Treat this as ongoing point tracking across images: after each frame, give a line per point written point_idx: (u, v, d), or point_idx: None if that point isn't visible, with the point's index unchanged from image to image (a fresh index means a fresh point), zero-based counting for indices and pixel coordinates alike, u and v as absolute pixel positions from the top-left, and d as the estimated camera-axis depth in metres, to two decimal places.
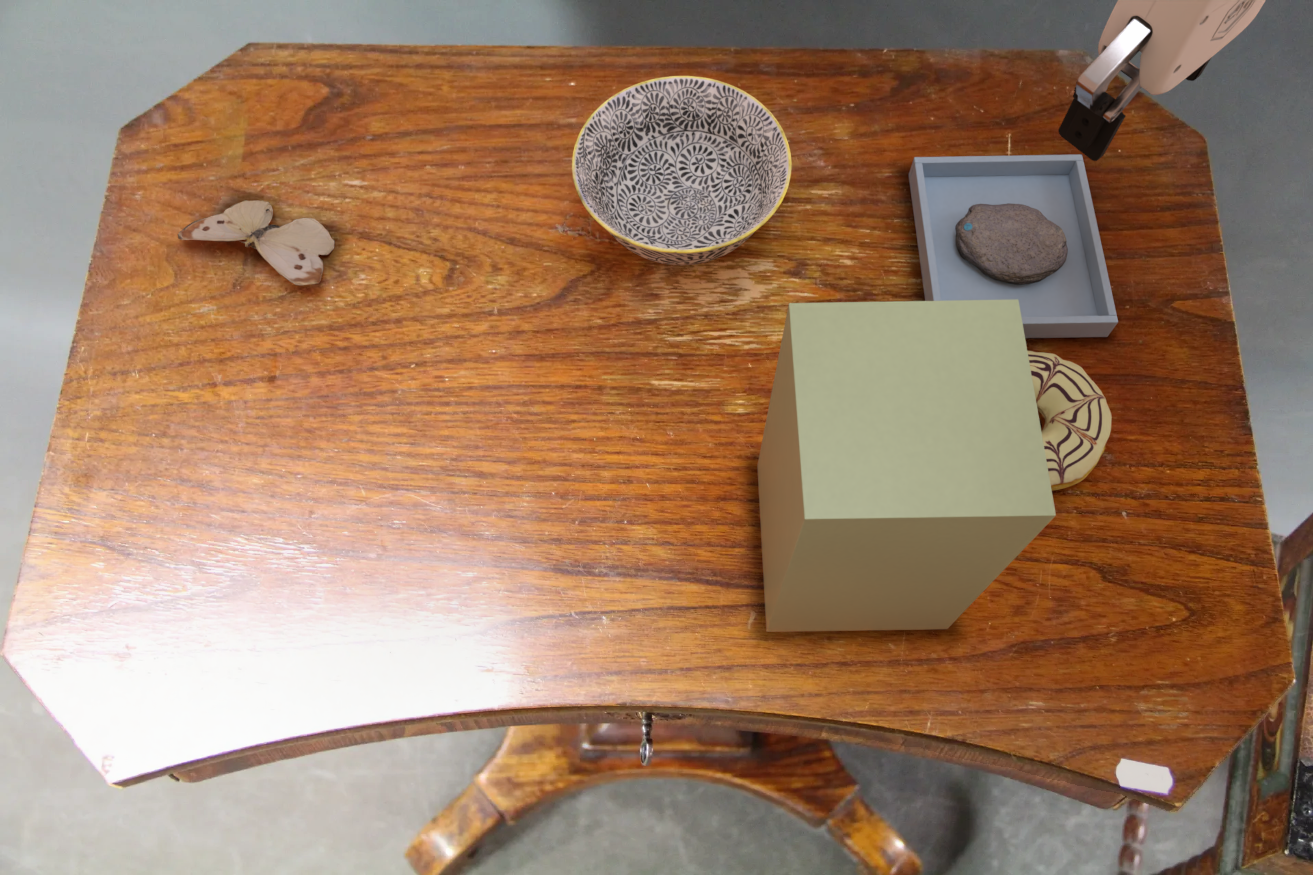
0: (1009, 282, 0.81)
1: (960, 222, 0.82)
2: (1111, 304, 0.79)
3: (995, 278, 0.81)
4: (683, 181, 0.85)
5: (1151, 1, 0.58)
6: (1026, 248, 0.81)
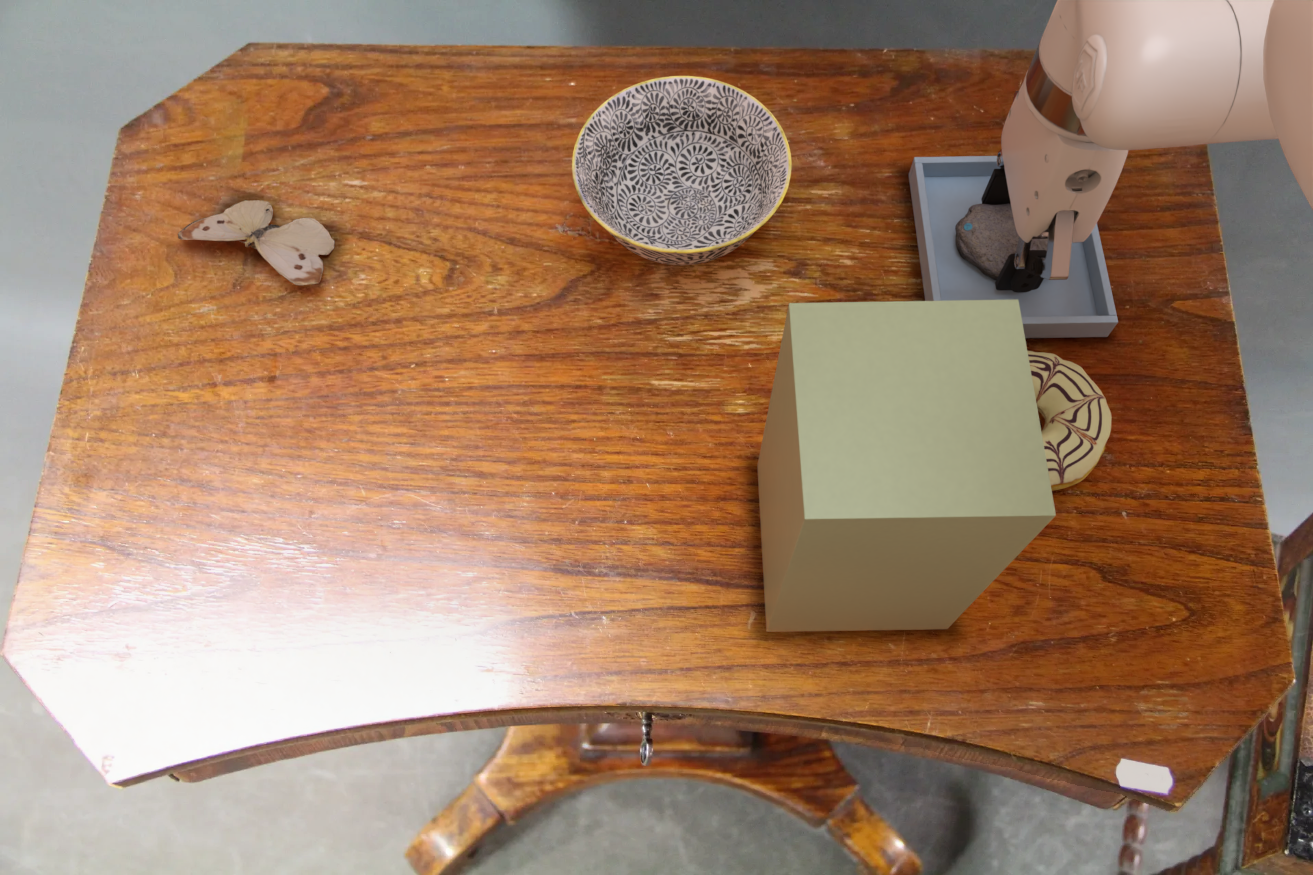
0: None
1: (960, 222, 0.82)
2: (1111, 304, 0.79)
3: (995, 278, 0.81)
4: (683, 181, 0.85)
5: (1072, 198, 0.69)
6: None
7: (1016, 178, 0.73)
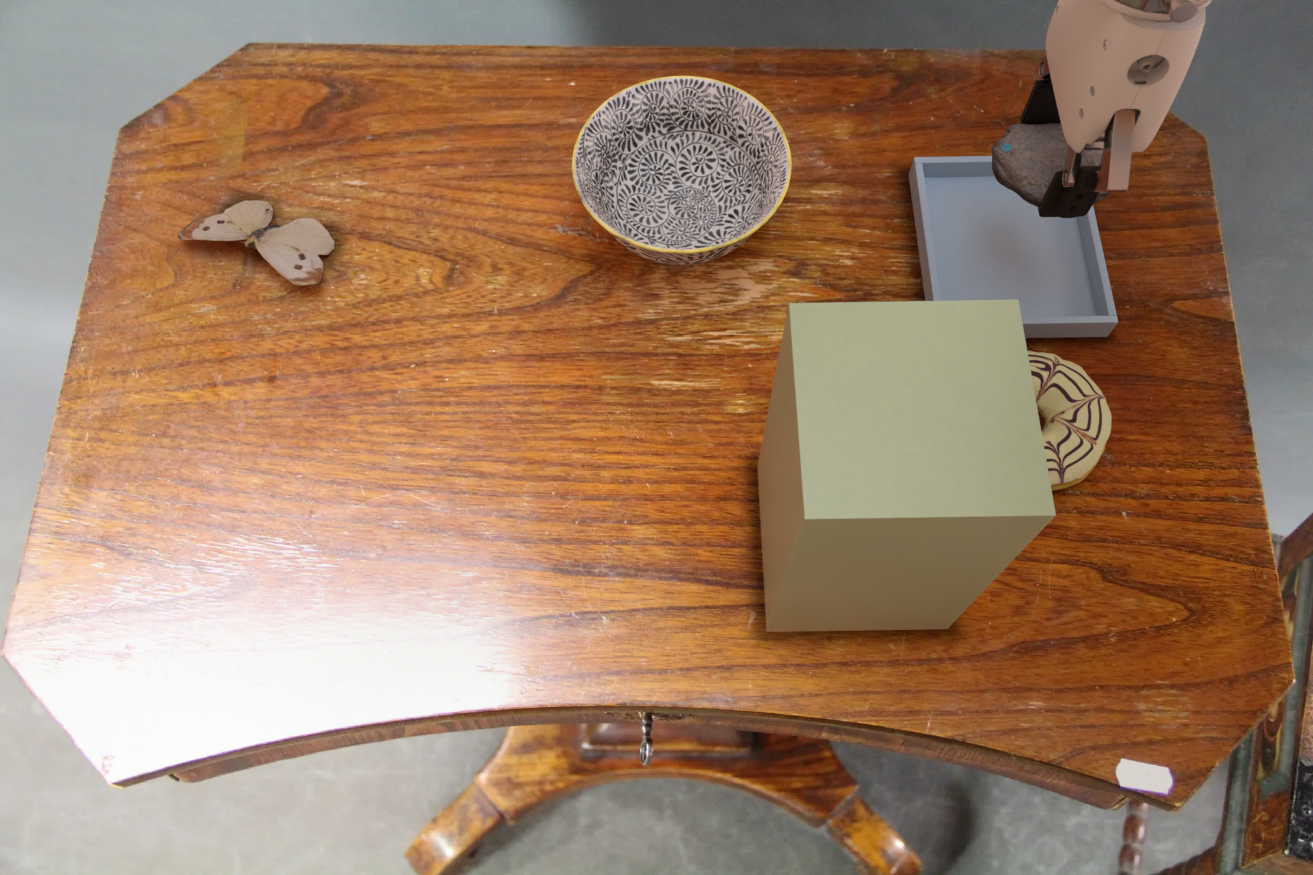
0: None
1: (997, 143, 0.73)
2: (1111, 304, 0.79)
3: (1037, 204, 0.72)
4: (683, 181, 0.85)
5: (1134, 93, 0.60)
6: None
7: (1066, 78, 0.64)
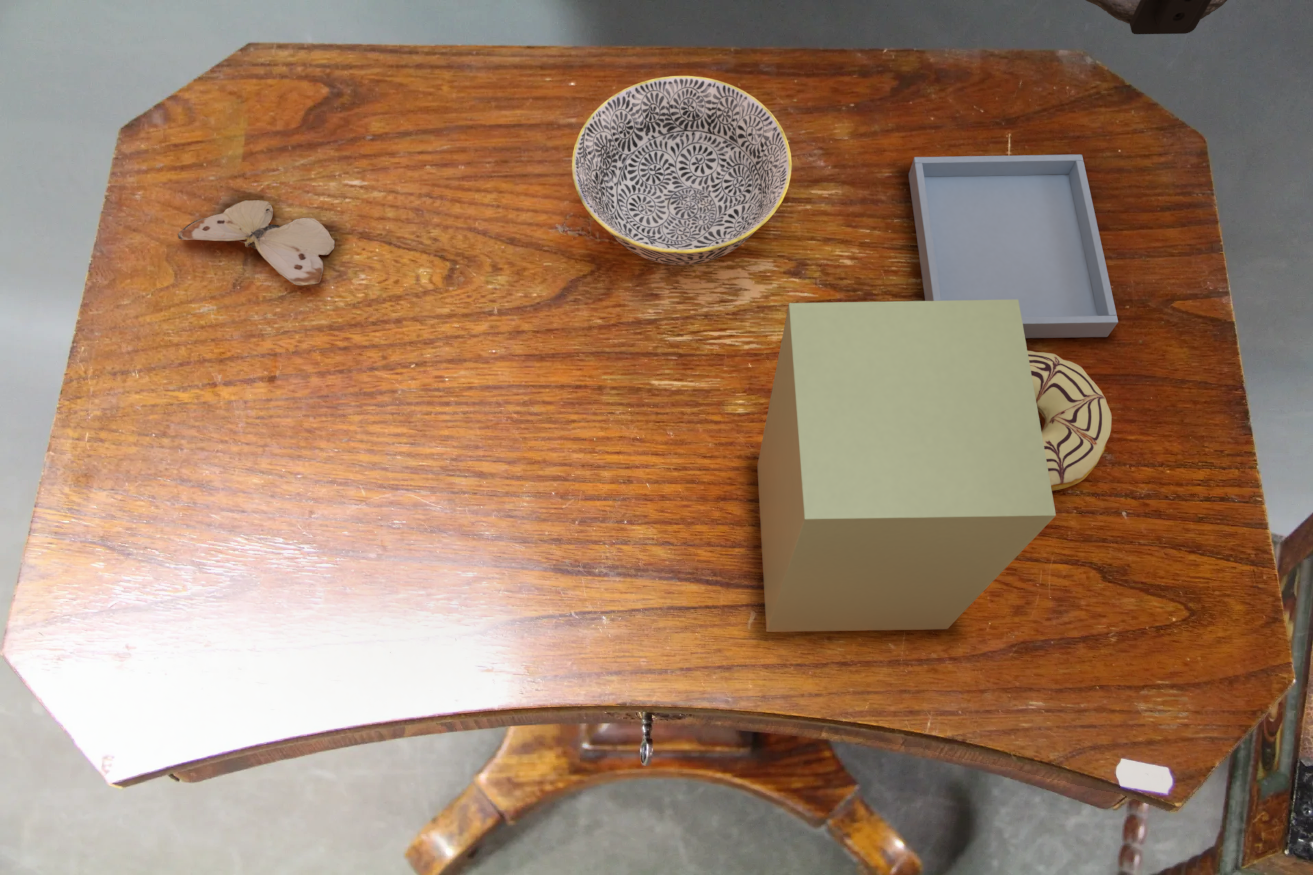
0: None
1: None
2: (1111, 304, 0.79)
3: (1128, 19, 0.55)
4: (683, 181, 0.85)
5: None
6: None
7: None
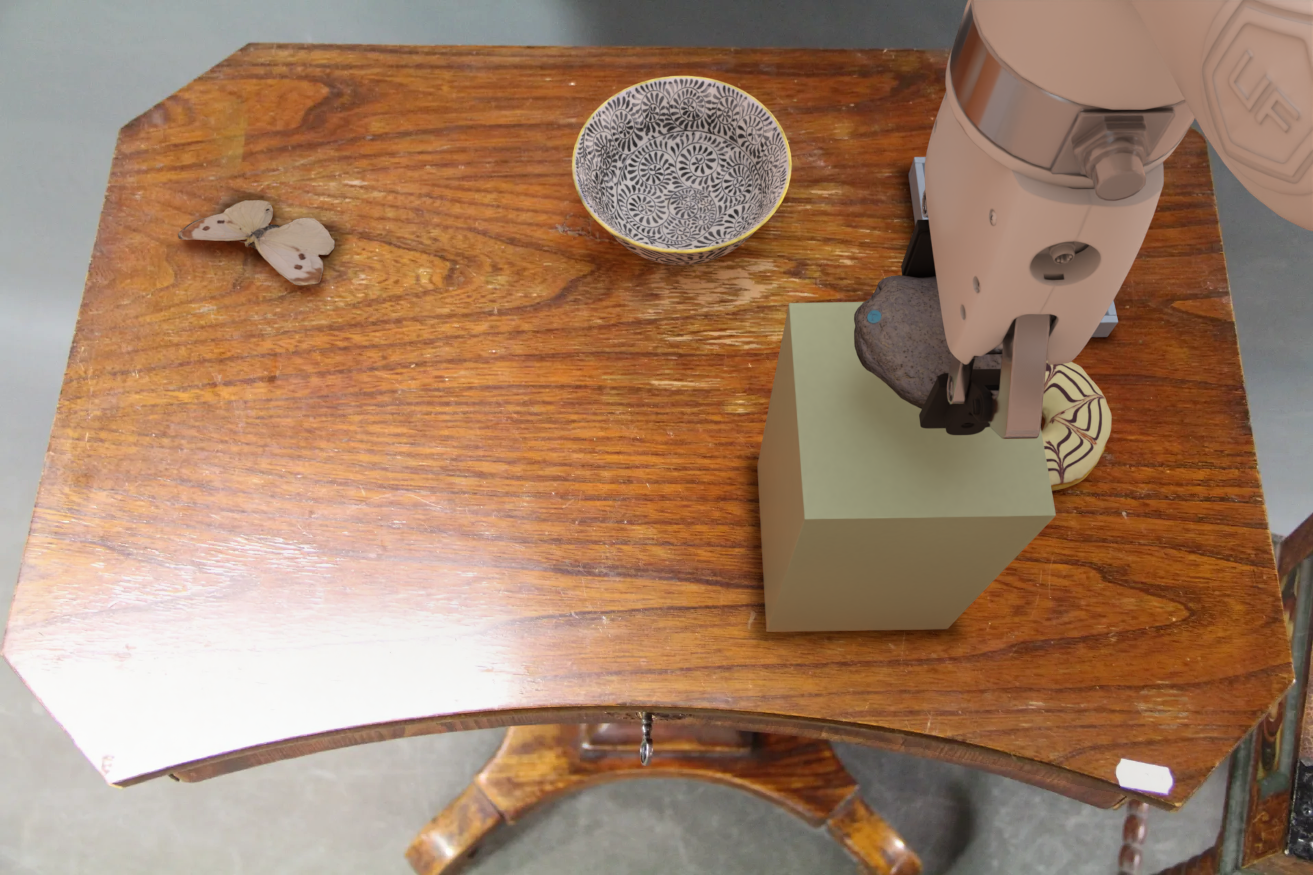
0: None
1: (862, 308, 0.48)
2: (1111, 304, 0.79)
3: (919, 406, 0.47)
4: (683, 181, 0.85)
5: (1044, 293, 0.35)
6: None
7: (944, 246, 0.39)
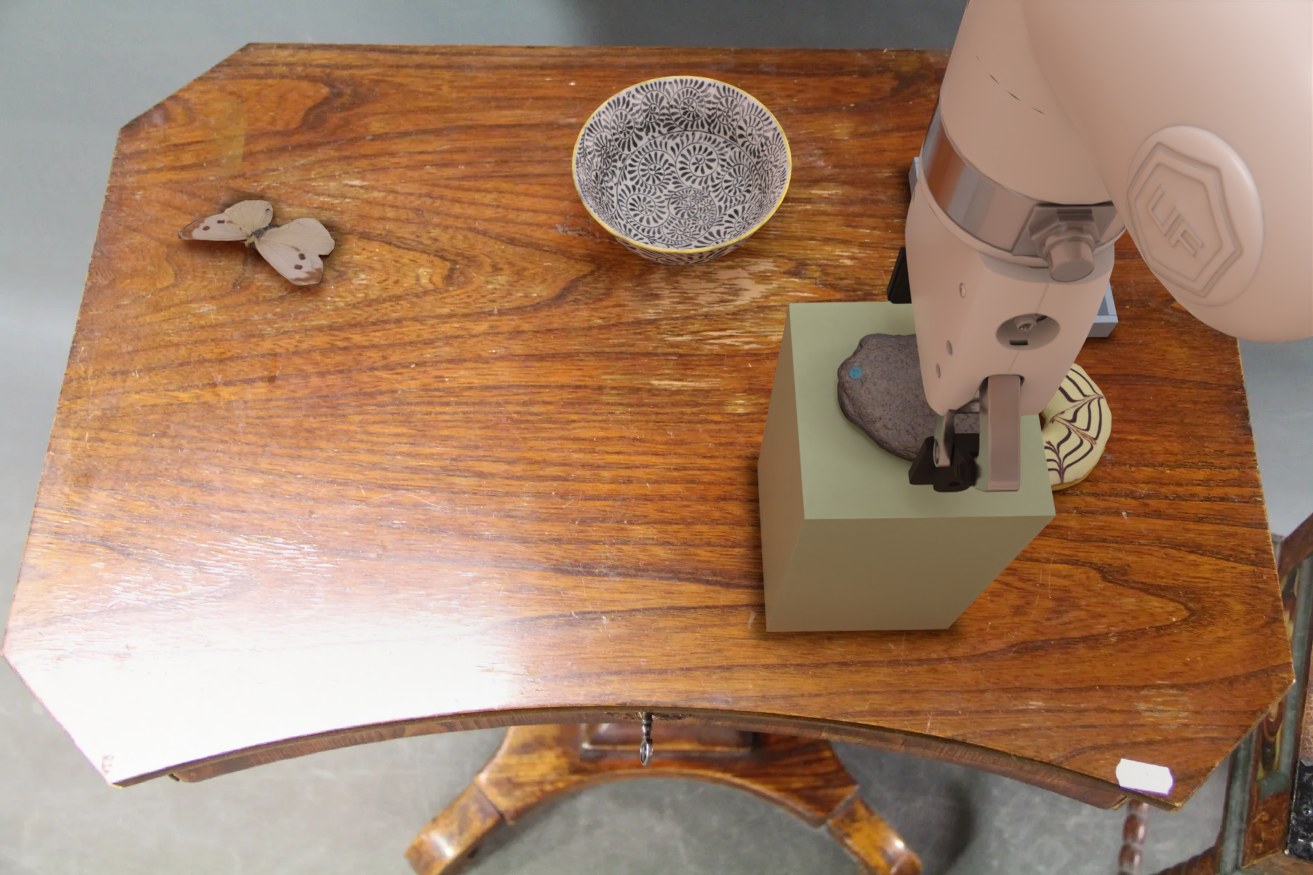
0: None
1: (844, 364, 0.53)
2: (1111, 304, 0.79)
3: (897, 455, 0.52)
4: (683, 181, 0.85)
5: (1010, 357, 0.39)
6: None
7: (921, 308, 0.43)
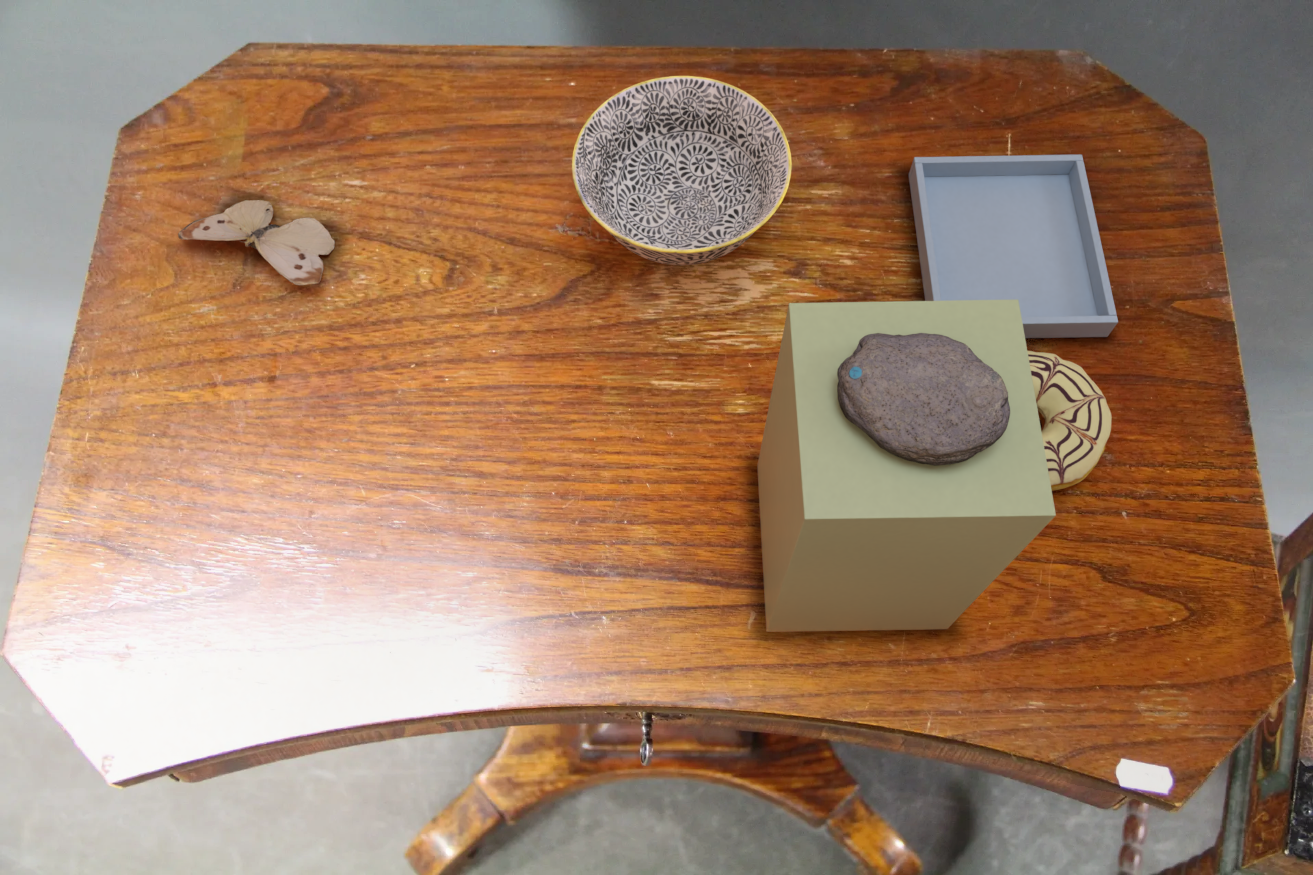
0: (918, 462, 0.52)
1: (844, 364, 0.53)
2: (1111, 304, 0.79)
3: (897, 455, 0.52)
4: (683, 181, 0.85)
5: None
6: (944, 409, 0.51)
7: None
